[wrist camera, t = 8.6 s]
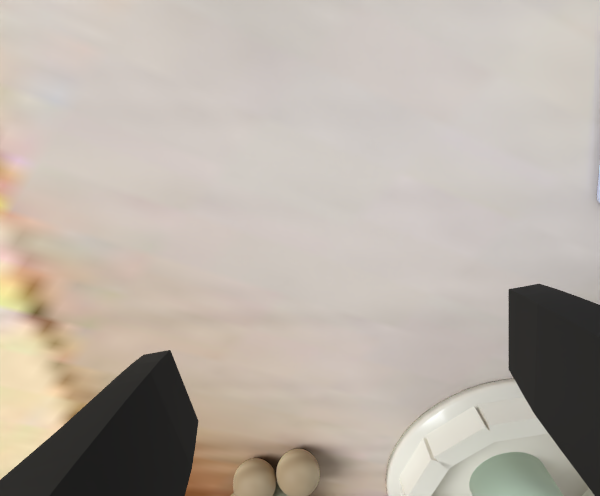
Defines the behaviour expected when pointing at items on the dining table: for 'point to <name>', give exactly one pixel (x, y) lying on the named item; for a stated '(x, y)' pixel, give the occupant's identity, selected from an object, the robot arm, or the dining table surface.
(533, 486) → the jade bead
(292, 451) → the bead pile
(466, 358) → the dining table surface
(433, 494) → the round bowl
